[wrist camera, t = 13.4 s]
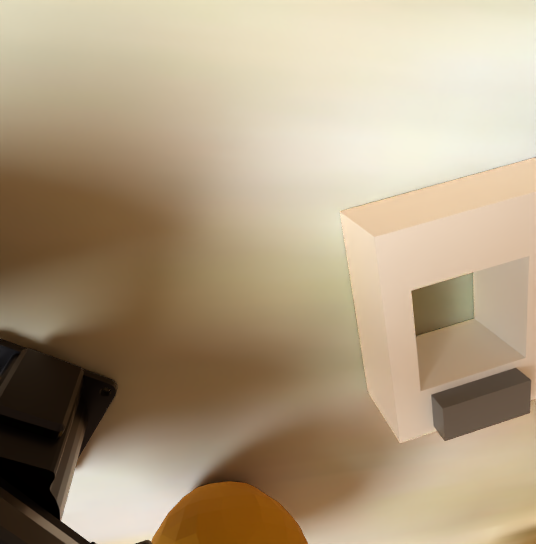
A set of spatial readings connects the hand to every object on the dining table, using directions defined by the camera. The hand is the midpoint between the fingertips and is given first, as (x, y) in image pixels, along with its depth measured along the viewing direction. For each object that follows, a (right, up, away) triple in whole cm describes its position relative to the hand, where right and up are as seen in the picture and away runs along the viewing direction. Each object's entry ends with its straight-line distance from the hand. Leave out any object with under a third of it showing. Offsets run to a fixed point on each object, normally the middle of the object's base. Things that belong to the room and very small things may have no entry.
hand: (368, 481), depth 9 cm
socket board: (+12, +5, +15) cm, 19 cm away
